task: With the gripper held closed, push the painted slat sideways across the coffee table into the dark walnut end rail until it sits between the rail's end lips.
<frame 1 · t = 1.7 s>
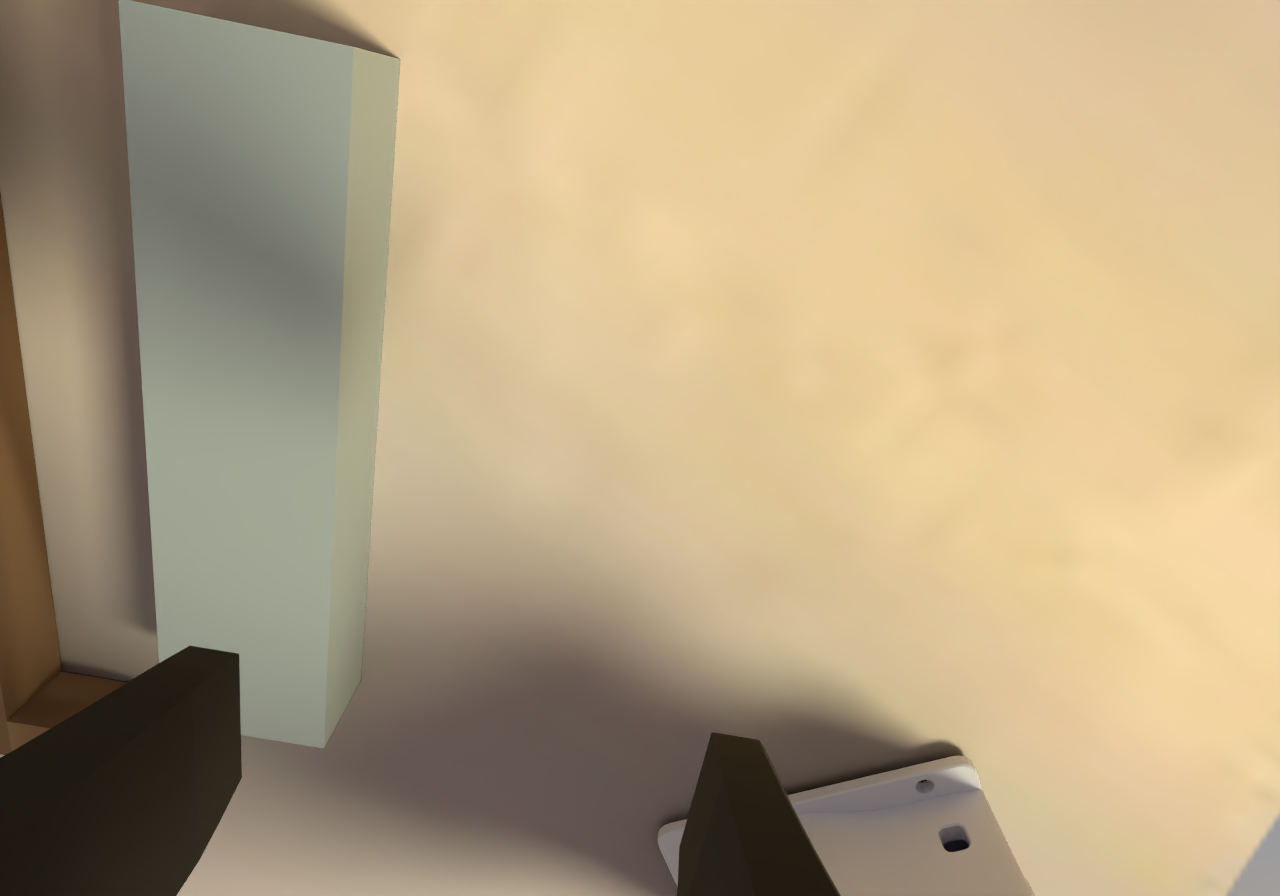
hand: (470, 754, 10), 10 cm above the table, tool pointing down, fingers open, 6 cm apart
end rail: (42, 357, 18), on the table
slat: (301, 399, 19), on the table
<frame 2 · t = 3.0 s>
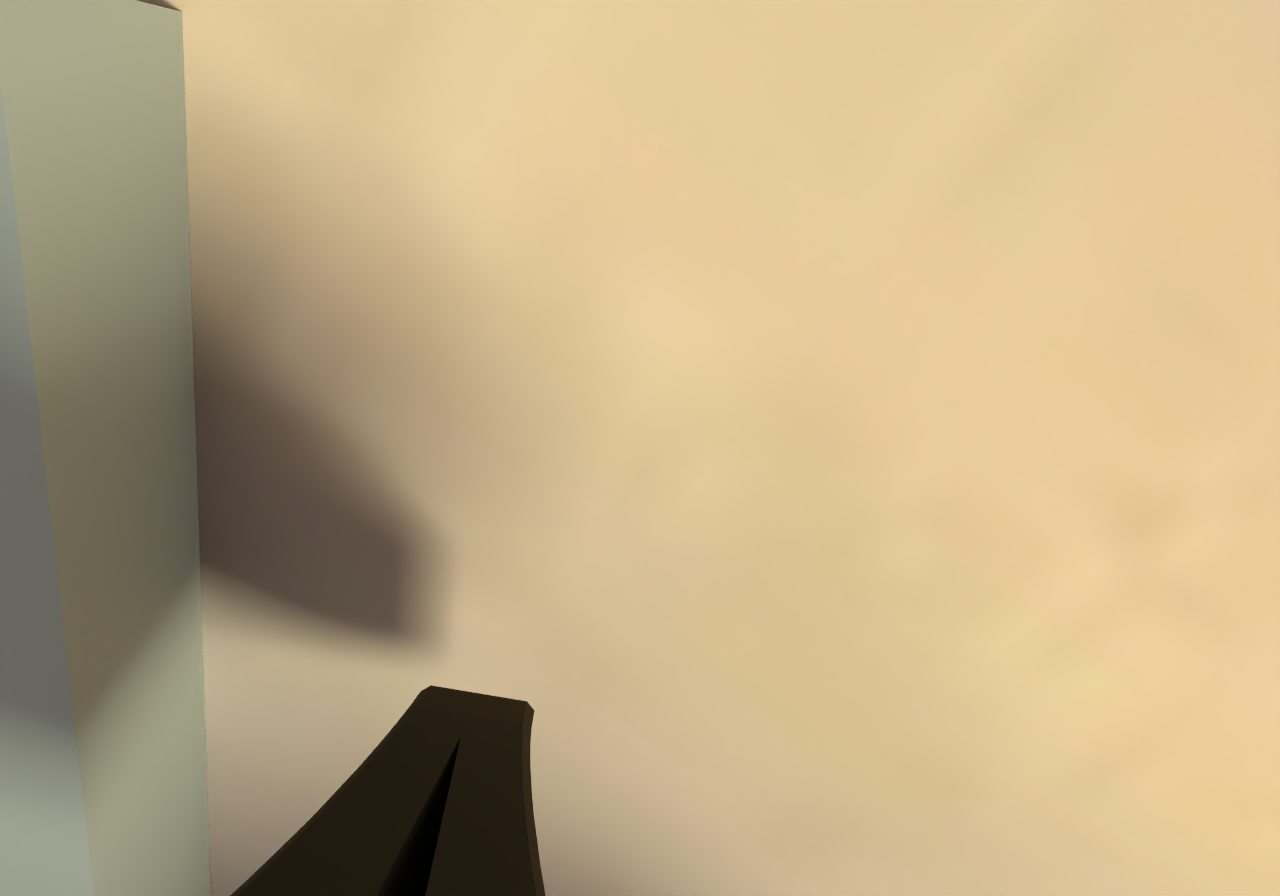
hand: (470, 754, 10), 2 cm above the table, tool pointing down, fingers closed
slat: (83, 572, 12), on the table
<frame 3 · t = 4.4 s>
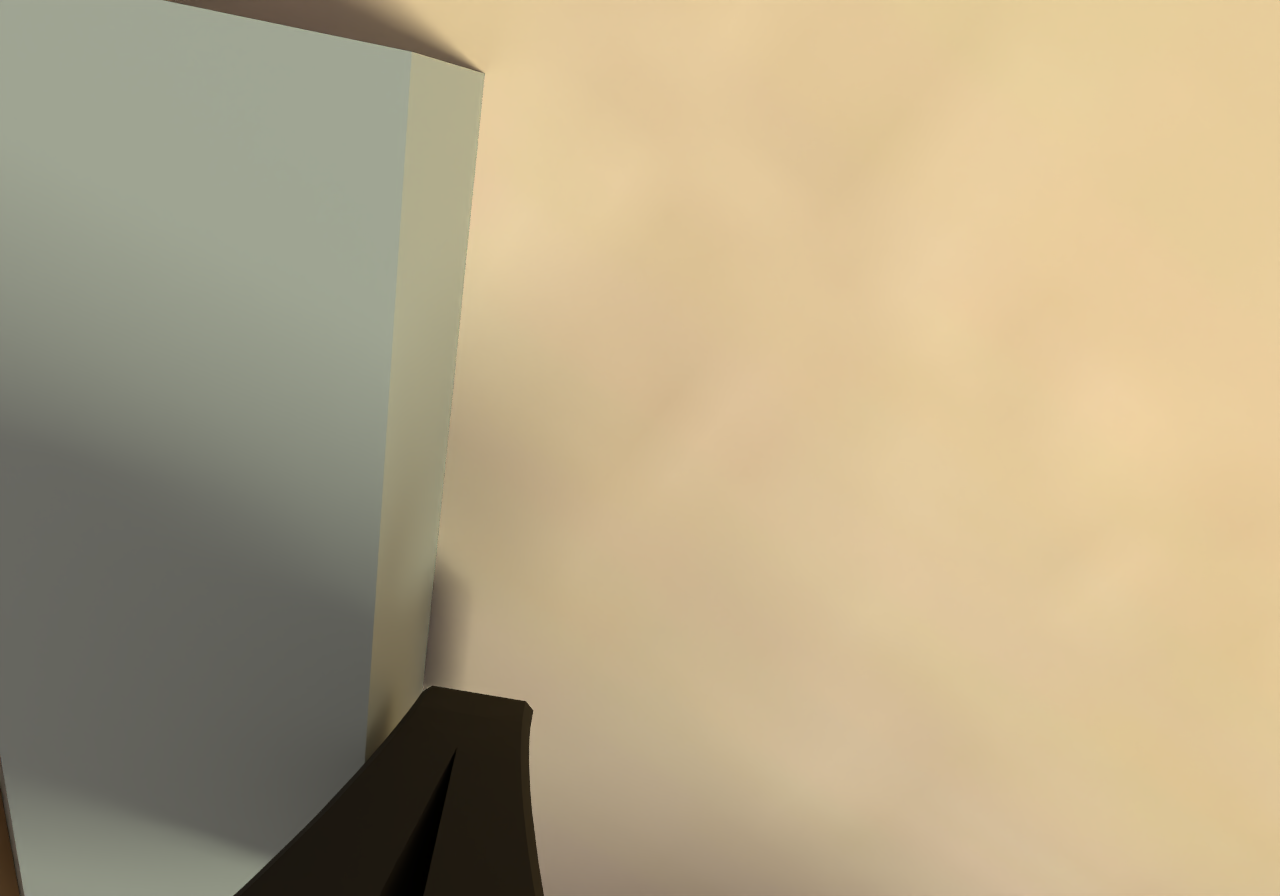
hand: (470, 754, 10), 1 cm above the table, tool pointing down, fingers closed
end rail: (1, 600, 11), on the table
slat: (298, 634, 11), on the table
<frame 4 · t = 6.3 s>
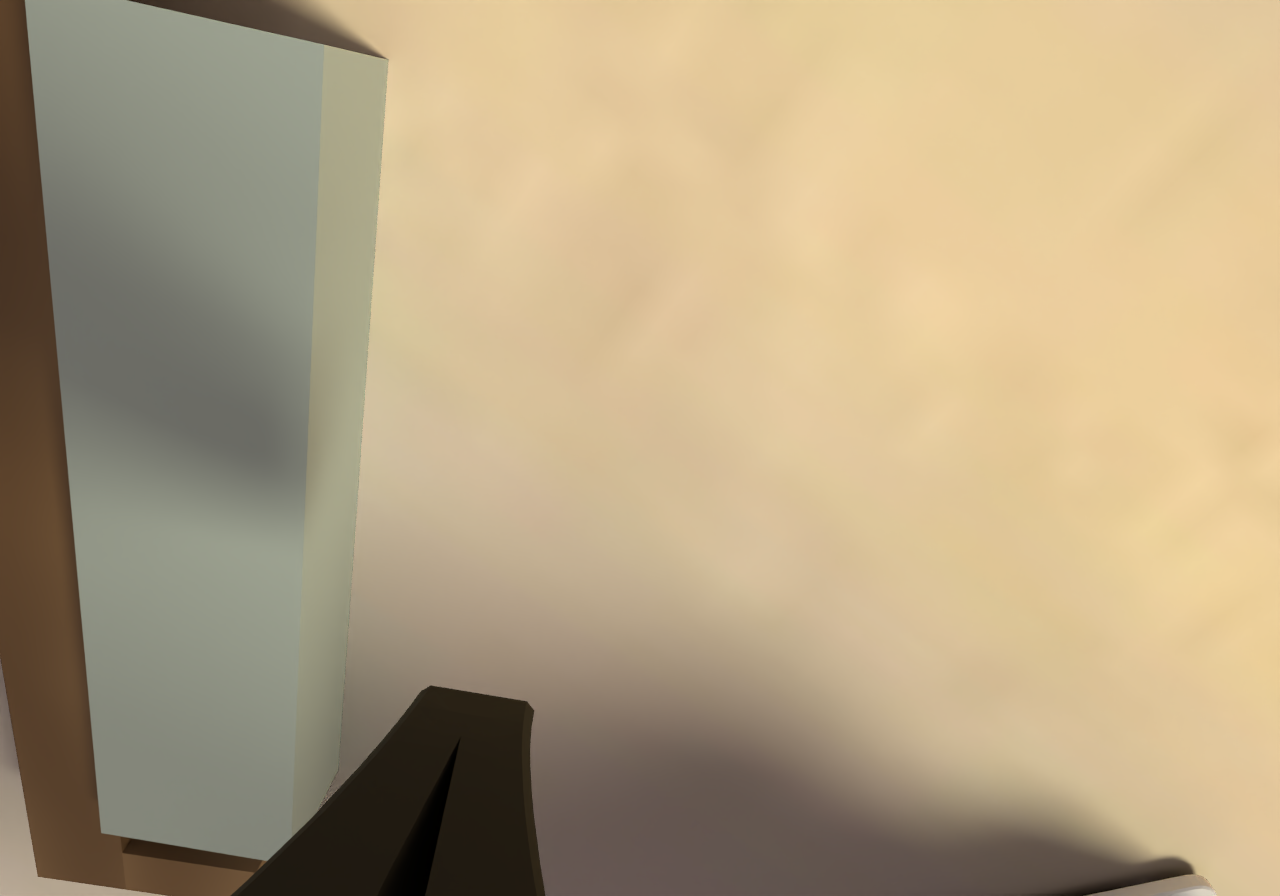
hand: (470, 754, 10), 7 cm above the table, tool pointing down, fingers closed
end rail: (174, 441, 16), on the table
slat: (269, 457, 16), on the table
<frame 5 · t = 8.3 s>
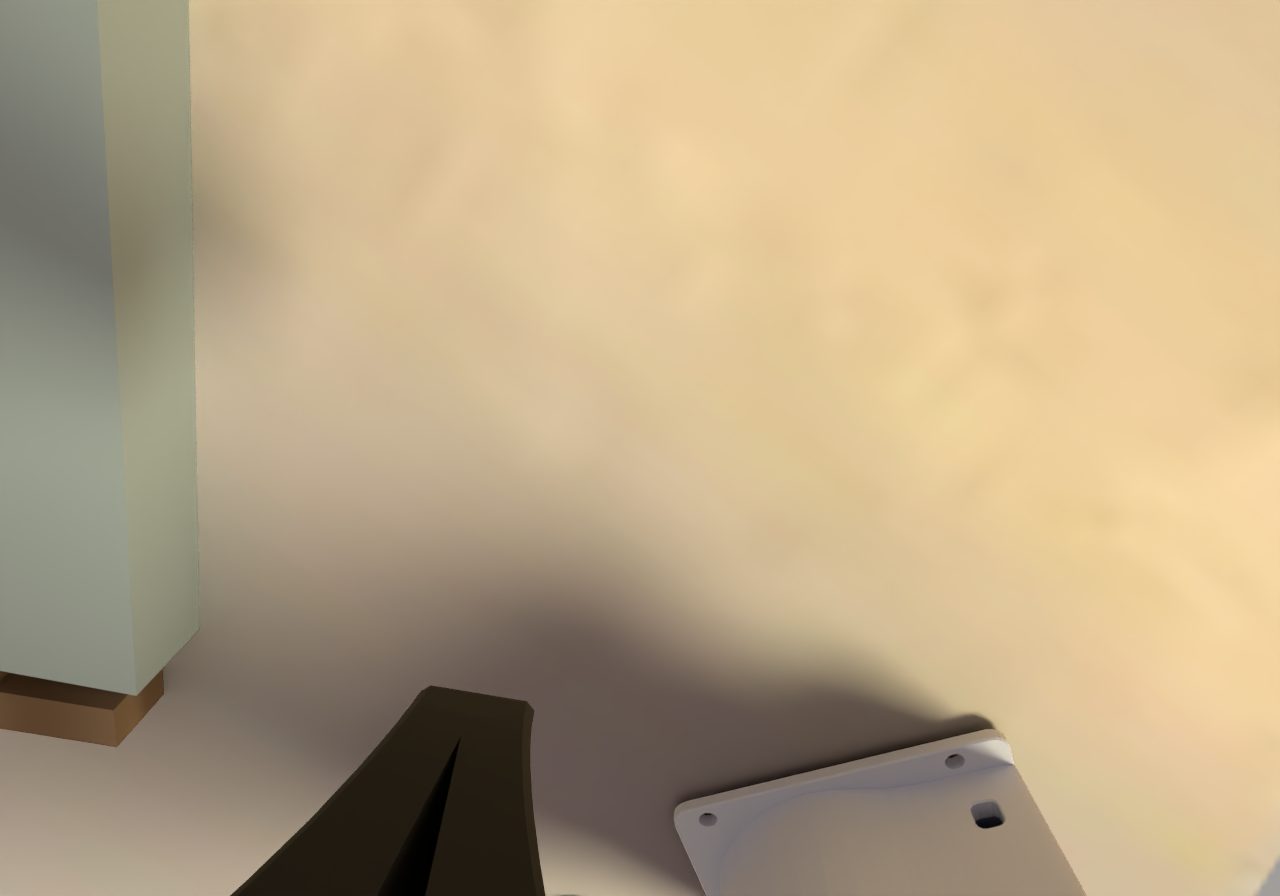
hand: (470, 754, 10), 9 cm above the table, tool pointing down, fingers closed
end rail: (26, 302, 17), on the table
slat: (116, 323, 18), on the table
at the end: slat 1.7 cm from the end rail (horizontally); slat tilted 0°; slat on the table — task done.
